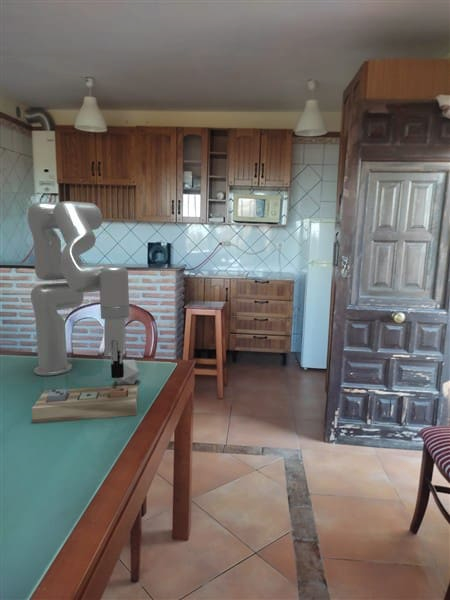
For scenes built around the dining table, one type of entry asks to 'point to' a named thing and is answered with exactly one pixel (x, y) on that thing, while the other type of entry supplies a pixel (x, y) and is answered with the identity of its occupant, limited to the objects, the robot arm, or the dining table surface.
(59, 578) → the dining table surface
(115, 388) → the button two
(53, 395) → the button three
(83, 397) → the button one
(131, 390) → the button board
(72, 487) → the dining table surface
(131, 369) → the die
